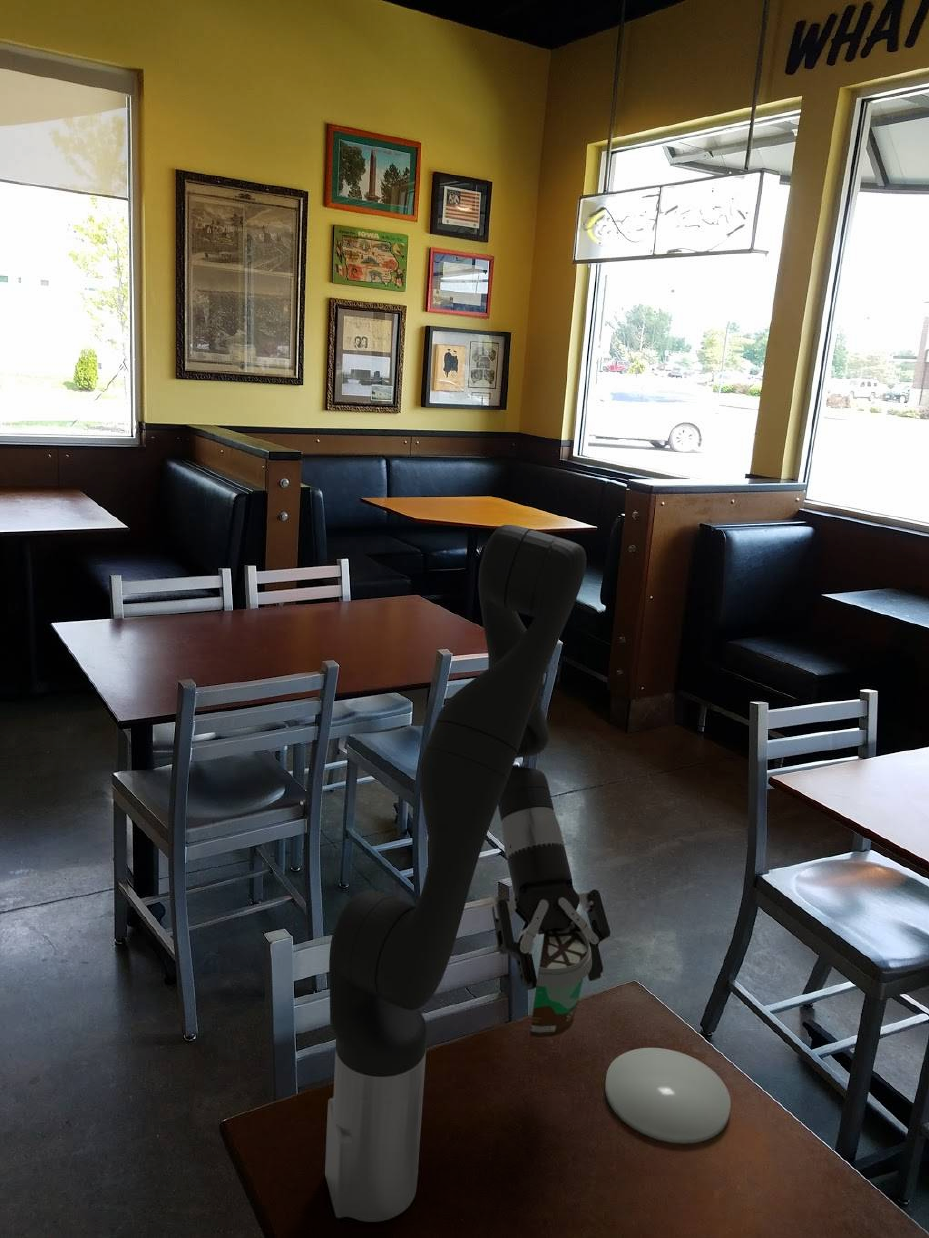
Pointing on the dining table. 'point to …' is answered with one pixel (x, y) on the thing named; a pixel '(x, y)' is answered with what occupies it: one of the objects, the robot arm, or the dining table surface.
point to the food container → (559, 981)
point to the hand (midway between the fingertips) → (564, 983)
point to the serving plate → (667, 1095)
